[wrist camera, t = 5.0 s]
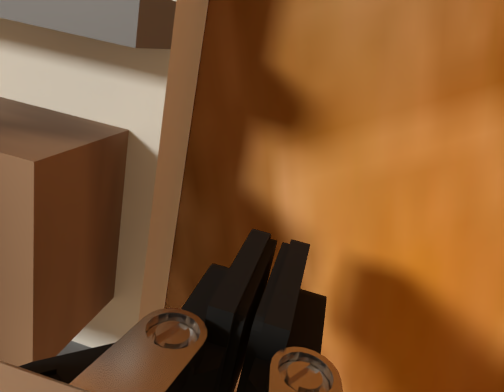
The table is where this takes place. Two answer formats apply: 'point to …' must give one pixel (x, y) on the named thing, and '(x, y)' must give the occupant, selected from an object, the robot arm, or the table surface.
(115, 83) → the lane board
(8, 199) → the walnut block
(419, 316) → the table surface
